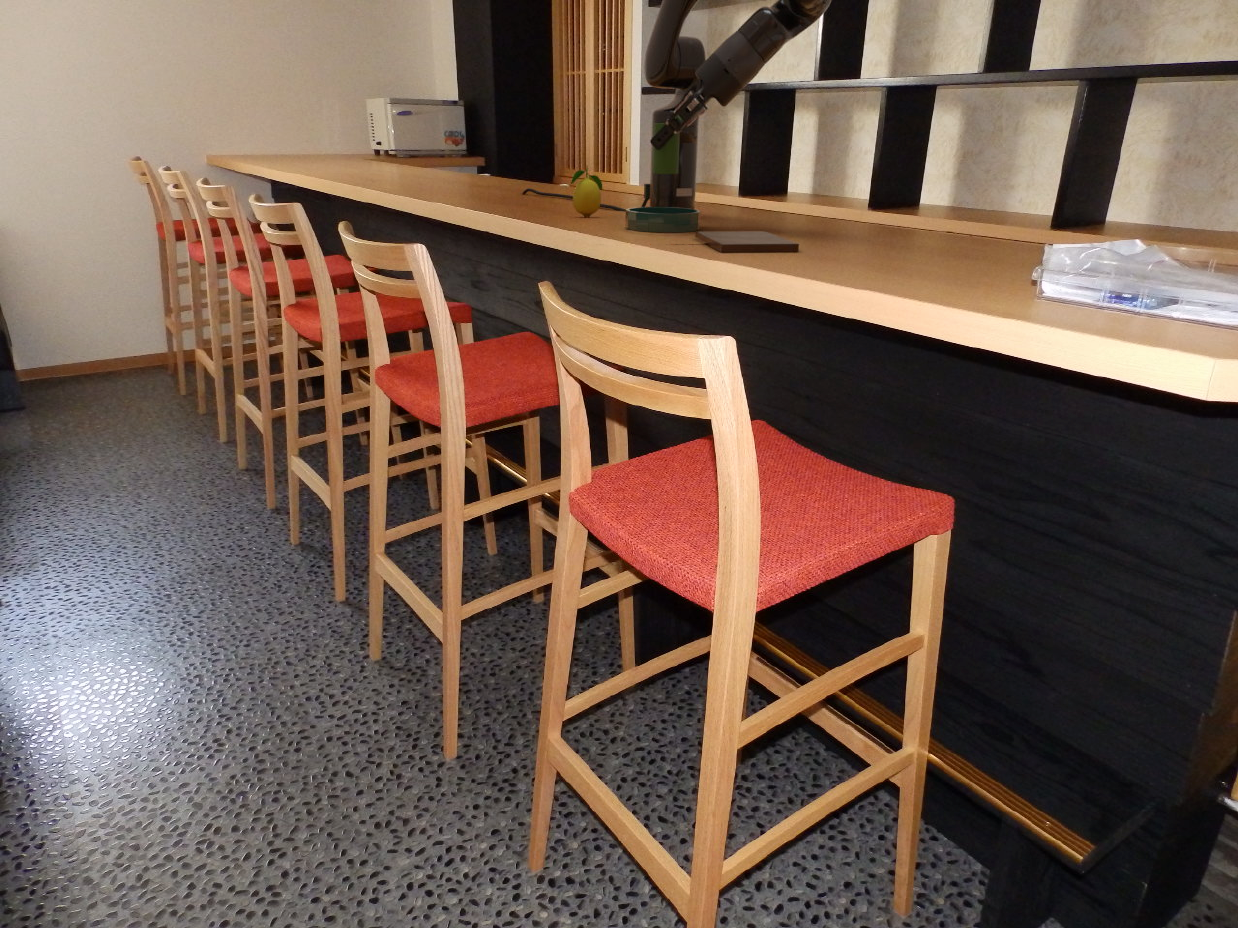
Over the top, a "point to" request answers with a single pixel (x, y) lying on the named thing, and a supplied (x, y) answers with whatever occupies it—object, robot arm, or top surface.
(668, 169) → the tall green pillar
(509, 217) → the top surface
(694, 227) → the bowl
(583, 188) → the lemon
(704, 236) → the board
